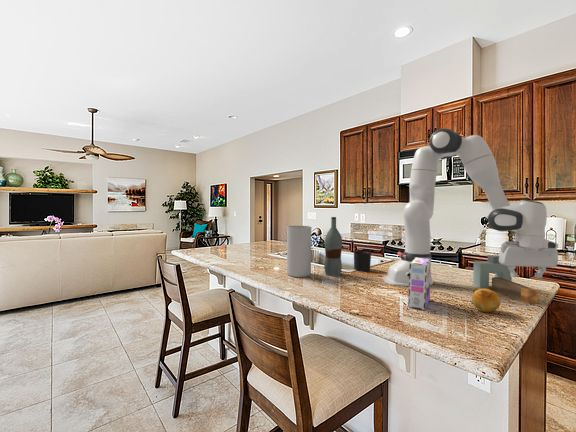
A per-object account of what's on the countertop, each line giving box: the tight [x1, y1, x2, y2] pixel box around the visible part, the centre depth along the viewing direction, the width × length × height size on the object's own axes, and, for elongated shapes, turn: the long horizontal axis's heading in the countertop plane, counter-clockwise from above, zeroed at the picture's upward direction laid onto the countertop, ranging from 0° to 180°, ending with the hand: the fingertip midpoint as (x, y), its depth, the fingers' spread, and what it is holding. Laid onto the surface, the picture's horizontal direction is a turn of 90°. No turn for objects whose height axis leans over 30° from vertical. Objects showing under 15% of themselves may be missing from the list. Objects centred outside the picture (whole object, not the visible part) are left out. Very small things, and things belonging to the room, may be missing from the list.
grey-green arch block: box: [472, 254, 513, 289], centre depth 136 cm, size 14×5×14 cm, turn 90°
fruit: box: [471, 288, 501, 313], centre depth 105 cm, size 8×8×8 cm
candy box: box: [407, 258, 432, 311], centre depth 112 cm, size 14×6×16 cm, turn 148°
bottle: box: [323, 216, 343, 277], centre depth 157 cm, size 9×9×30 cm
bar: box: [491, 276, 539, 305], centre depth 124 cm, size 4×20×5 cm, turn 0°
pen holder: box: [353, 250, 372, 272], centre depth 168 cm, size 9×9×10 cm
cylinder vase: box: [286, 225, 312, 278], centre depth 155 cm, size 12×12×25 cm
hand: (525, 277), depth 116 cm, fingers open, 8 cm apart
